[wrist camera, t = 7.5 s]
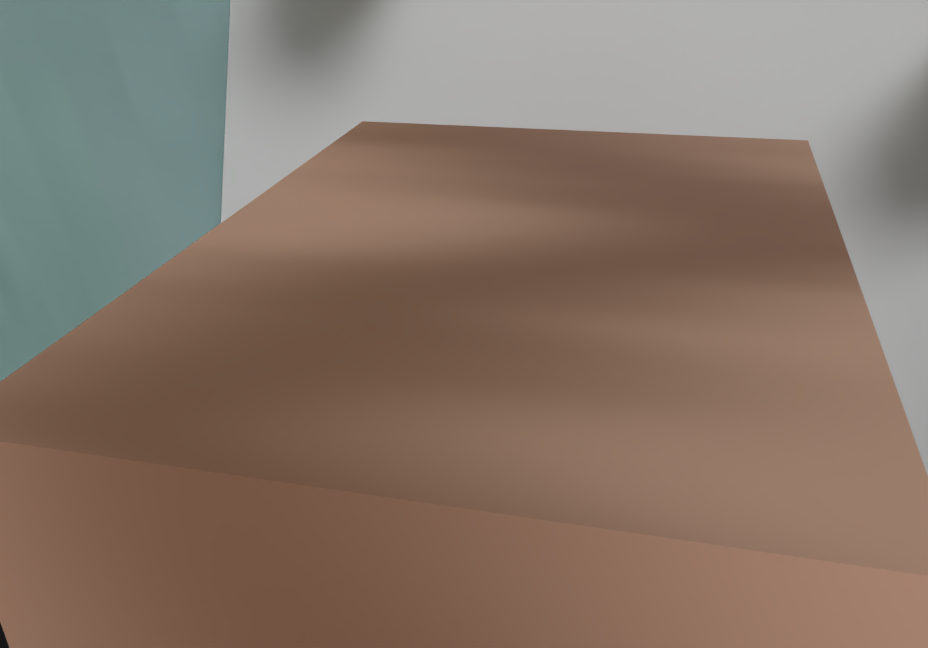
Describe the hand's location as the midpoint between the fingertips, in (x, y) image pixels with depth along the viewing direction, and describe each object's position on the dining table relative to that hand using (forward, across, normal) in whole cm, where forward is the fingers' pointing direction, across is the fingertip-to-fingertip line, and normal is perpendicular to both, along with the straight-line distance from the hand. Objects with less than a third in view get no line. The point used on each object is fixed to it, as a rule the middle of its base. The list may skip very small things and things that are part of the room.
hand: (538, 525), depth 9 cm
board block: (+2, 0, 0) cm, 2 cm away
